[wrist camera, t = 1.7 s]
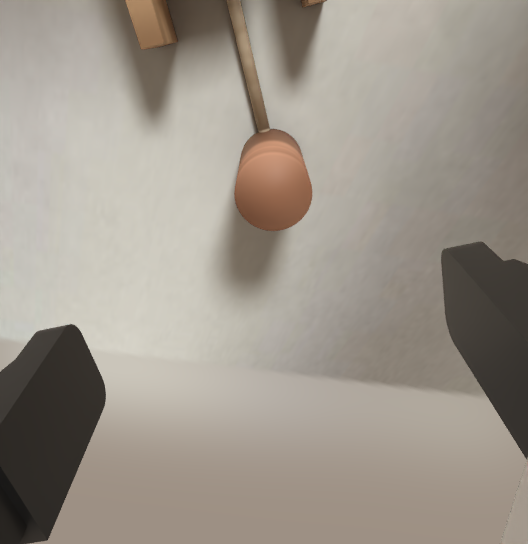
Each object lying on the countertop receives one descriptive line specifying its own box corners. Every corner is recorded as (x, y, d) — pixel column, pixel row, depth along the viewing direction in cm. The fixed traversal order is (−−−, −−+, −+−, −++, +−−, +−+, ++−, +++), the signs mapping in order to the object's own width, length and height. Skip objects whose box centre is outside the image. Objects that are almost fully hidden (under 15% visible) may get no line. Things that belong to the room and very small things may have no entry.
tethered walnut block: (113, -225, 19) (54, -328, 14) (238, -267, 18) (228, -391, 13) (233, 199, 26) (225, 242, 21) (324, 178, 26) (339, 216, 21)
